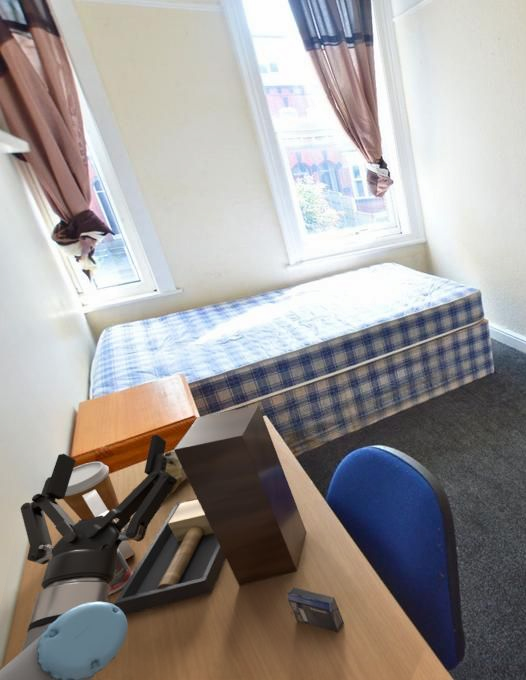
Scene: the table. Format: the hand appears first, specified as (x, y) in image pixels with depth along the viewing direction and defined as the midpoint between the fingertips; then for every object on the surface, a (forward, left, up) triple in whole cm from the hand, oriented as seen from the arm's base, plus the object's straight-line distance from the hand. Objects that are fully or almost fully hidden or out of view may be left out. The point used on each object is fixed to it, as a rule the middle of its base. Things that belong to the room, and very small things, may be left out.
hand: (114, 447), depth 77 cm
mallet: (-2, +4, -28) cm, 29 cm away
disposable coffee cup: (-34, +8, -29) cm, 46 cm away
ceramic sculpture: (-27, +21, -29) cm, 45 cm away
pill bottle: (-11, -5, -29) cm, 32 cm away
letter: (-22, +3, -29) cm, 37 cm away
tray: (-3, +5, -29) cm, 30 cm away
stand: (+16, +7, -29) cm, 34 cm away
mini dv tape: (+34, -3, -29) cm, 45 cm away
